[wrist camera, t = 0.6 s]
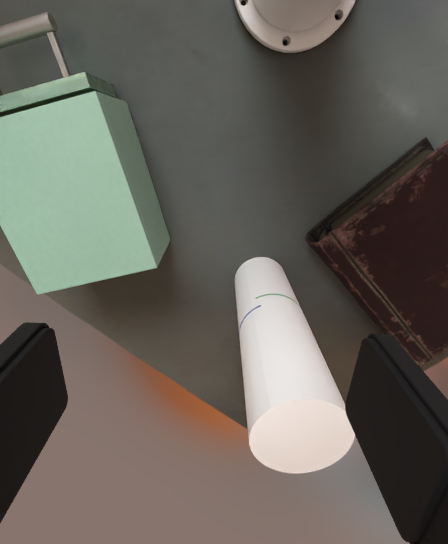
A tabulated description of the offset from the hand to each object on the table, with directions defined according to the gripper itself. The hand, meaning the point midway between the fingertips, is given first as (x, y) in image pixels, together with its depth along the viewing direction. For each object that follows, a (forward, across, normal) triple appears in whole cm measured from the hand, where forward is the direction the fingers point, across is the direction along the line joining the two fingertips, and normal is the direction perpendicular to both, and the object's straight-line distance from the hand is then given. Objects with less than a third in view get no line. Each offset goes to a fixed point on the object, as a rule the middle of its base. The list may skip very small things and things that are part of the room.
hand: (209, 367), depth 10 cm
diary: (+32, -27, +7) cm, 43 cm away
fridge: (+32, +15, 0) cm, 35 cm away
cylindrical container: (+32, -6, +12) cm, 35 cm away
